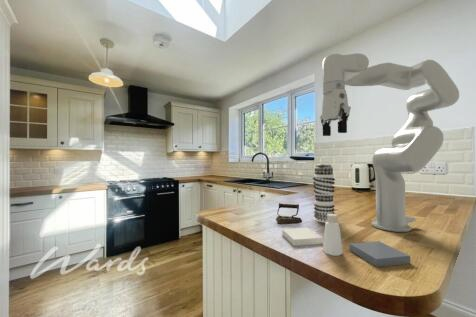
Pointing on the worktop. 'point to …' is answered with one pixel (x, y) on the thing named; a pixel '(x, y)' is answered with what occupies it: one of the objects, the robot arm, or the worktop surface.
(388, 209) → the robot arm
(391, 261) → the plate
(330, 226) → the salt shaker
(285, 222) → the clothes iron
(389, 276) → the worktop surface
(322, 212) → the decorative candle
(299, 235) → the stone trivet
